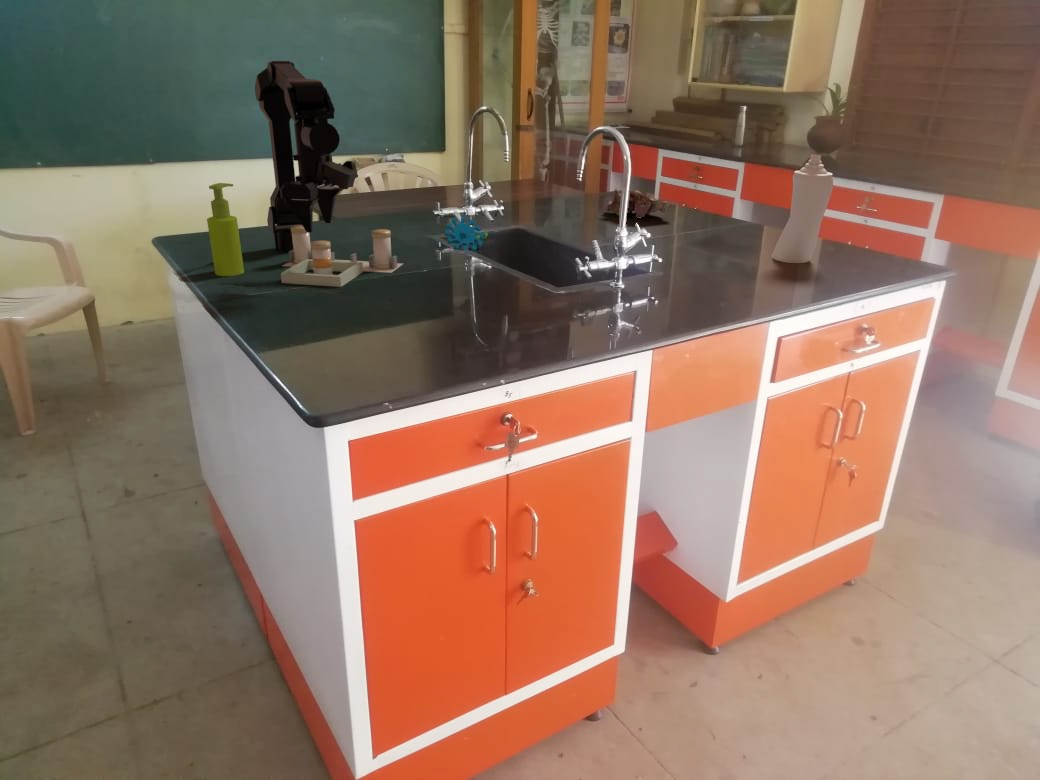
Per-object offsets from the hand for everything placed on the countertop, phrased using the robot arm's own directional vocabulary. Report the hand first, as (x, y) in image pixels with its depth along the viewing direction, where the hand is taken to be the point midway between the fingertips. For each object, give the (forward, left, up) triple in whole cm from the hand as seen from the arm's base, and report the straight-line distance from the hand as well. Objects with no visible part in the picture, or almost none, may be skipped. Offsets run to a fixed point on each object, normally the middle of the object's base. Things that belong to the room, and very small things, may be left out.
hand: (318, 227), depth 159 cm
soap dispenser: (-21, -1, -12) cm, 24 cm away
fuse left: (-9, +10, -10) cm, 17 cm away
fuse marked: (0, 0, -11) cm, 11 cm away
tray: (0, 0, -12) cm, 12 cm away
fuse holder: (0, +10, -12) cm, 16 cm away
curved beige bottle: (+102, +44, -12) cm, 112 cm away
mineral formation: (+62, +89, -12) cm, 109 cm away
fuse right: (+10, +10, -10) cm, 18 cm away
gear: (+22, +38, -12) cm, 45 cm away
